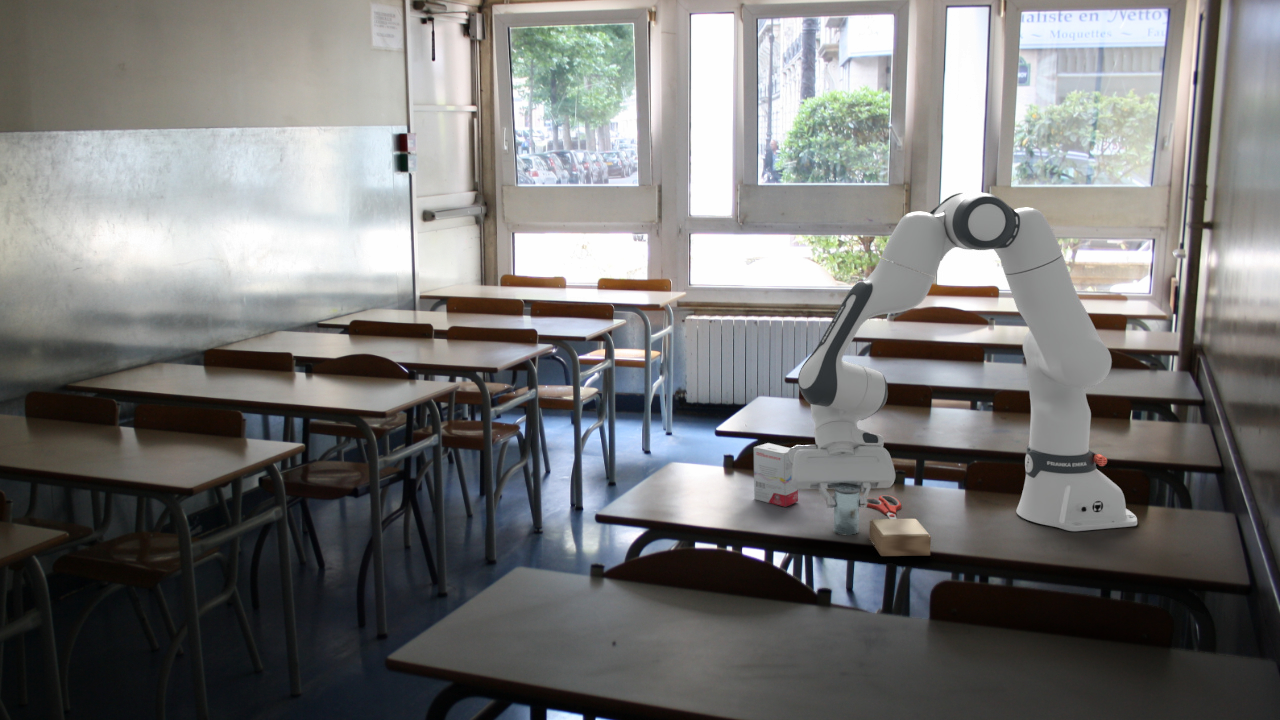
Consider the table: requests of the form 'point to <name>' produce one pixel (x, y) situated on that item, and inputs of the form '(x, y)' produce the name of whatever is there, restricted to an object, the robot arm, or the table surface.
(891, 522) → the beige box
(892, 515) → the scissors
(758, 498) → the ink box
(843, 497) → the translucent jar
